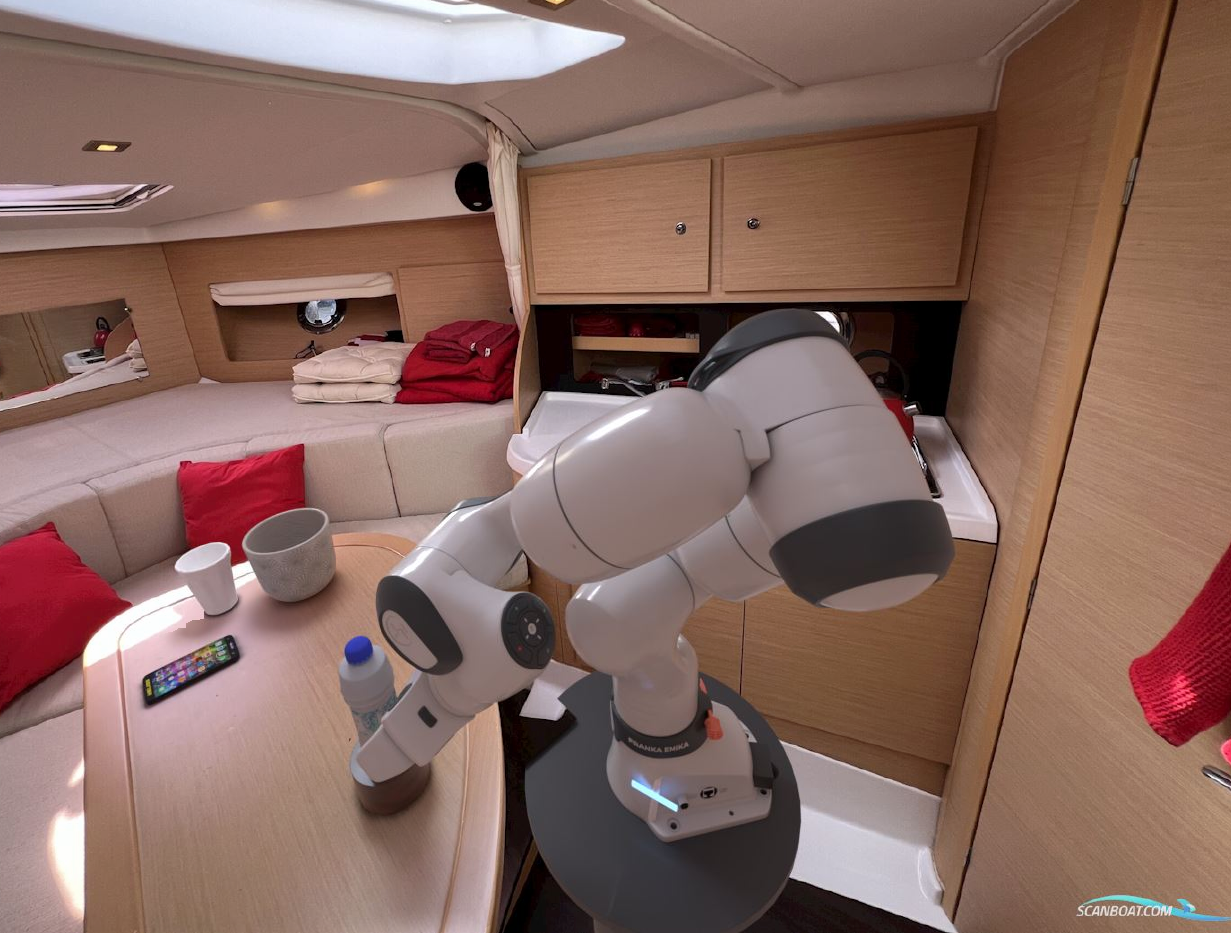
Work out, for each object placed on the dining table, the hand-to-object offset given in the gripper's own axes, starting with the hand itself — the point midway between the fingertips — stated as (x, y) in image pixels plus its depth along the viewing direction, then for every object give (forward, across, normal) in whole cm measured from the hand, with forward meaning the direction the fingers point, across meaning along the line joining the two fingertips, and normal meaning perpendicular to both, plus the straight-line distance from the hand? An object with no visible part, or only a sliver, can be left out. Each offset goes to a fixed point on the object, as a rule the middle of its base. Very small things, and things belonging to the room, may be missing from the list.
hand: (408, 707), depth 69 cm
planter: (+52, -24, -28) cm, 64 cm away
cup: (+61, -12, -36) cm, 72 cm away
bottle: (+13, 0, +4) cm, 14 cm away
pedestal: (+17, 0, +8) cm, 19 cm away
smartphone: (+52, +1, -28) cm, 59 cm away
